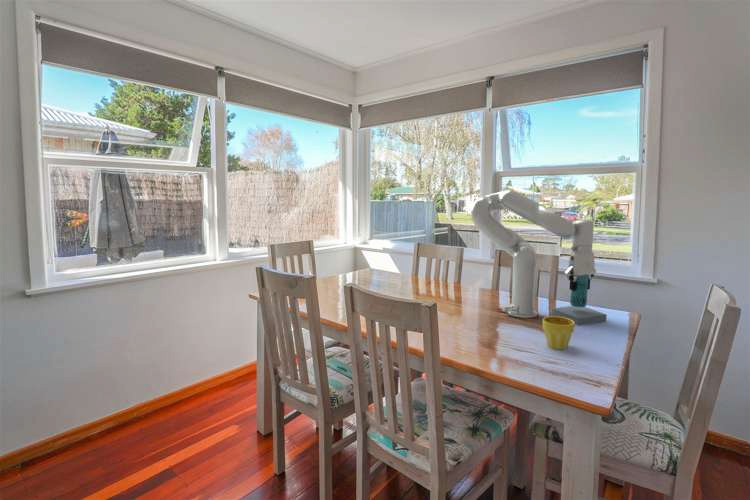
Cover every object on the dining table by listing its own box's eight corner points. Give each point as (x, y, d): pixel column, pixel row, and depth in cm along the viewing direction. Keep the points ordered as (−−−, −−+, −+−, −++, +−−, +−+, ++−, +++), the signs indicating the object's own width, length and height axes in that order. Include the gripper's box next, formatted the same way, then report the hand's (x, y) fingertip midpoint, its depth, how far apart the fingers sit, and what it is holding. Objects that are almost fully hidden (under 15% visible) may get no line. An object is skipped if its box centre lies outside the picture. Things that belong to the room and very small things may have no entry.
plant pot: (560, 354, 137) (561, 327, 136) (535, 344, 147) (536, 318, 145) (579, 348, 142) (581, 322, 141) (554, 339, 151) (555, 314, 150)
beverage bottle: (566, 306, 177) (569, 262, 174) (581, 306, 178) (584, 262, 175) (575, 311, 171) (578, 265, 168) (590, 310, 171) (593, 264, 168)
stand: (577, 325, 166) (577, 318, 165) (552, 314, 180) (552, 308, 179) (606, 321, 170) (606, 314, 169) (579, 311, 184) (579, 305, 184)
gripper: (572, 251, 164) (569, 293, 167) (605, 248, 169) (602, 289, 172) (559, 248, 171) (556, 289, 174) (591, 246, 176) (588, 285, 179)
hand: (579, 289), depth 173 cm, fingers closed on beverage bottle, 6 cm apart
